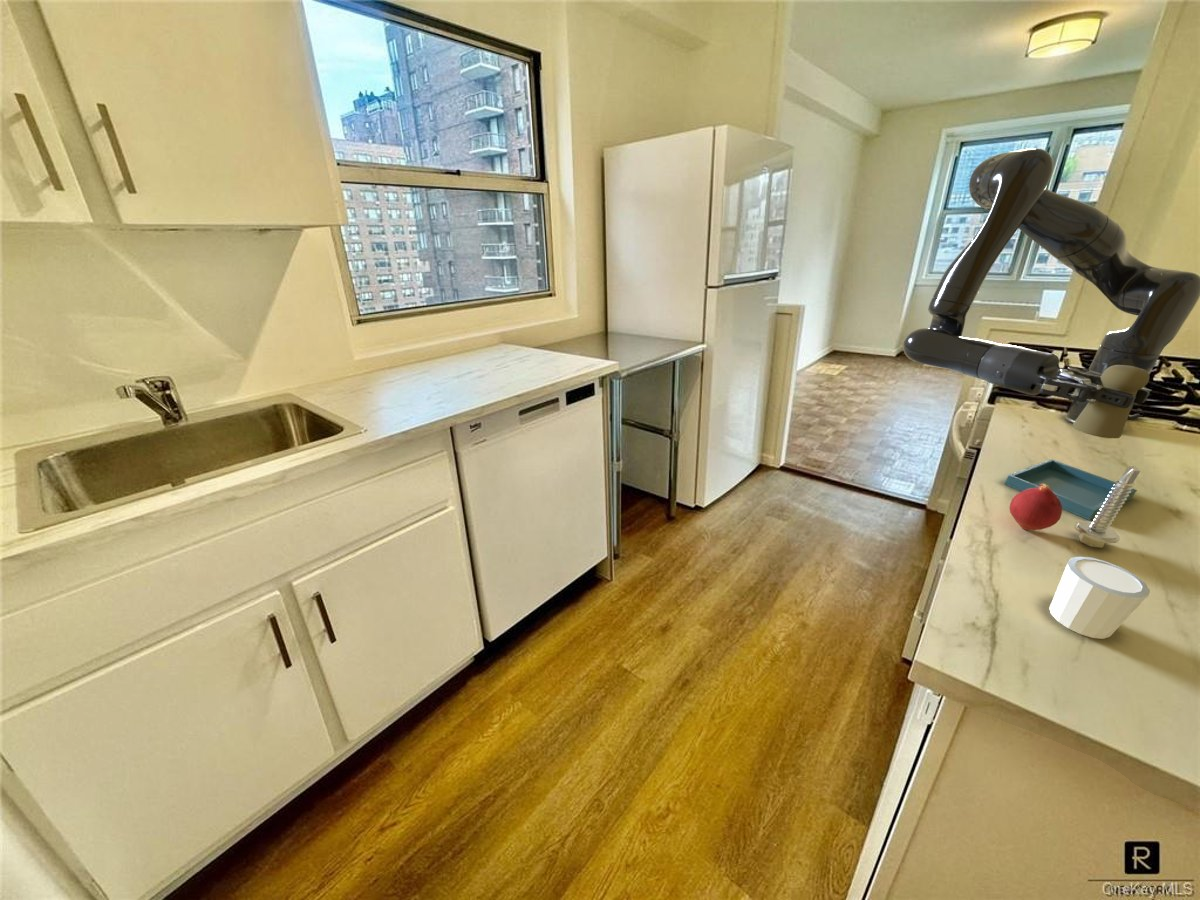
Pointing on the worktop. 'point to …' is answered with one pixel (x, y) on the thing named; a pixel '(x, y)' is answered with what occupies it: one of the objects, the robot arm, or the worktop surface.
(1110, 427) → the cork
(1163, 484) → the worktop surface
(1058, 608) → the white faceted cylinder
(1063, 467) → the tray
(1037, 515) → the onion
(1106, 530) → the screw
